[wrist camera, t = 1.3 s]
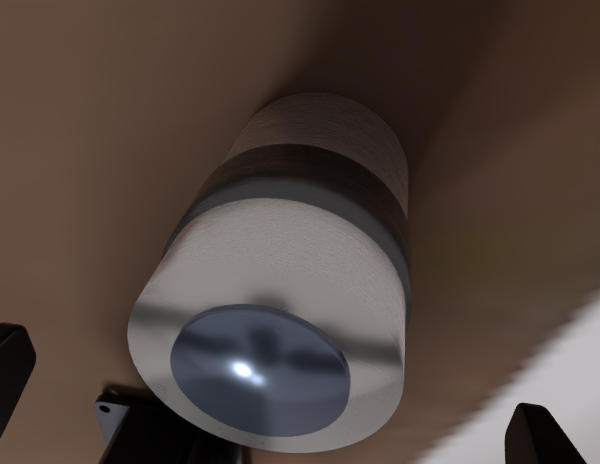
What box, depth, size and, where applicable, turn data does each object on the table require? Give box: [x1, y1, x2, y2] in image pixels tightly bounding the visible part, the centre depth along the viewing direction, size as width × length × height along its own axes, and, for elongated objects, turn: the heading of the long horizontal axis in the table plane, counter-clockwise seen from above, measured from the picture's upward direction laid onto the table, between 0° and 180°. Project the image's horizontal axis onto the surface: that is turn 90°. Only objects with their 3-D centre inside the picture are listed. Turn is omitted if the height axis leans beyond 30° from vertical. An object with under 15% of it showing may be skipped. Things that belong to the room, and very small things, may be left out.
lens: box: [127, 92, 411, 453], centre depth 12 cm, size 5×5×7 cm
